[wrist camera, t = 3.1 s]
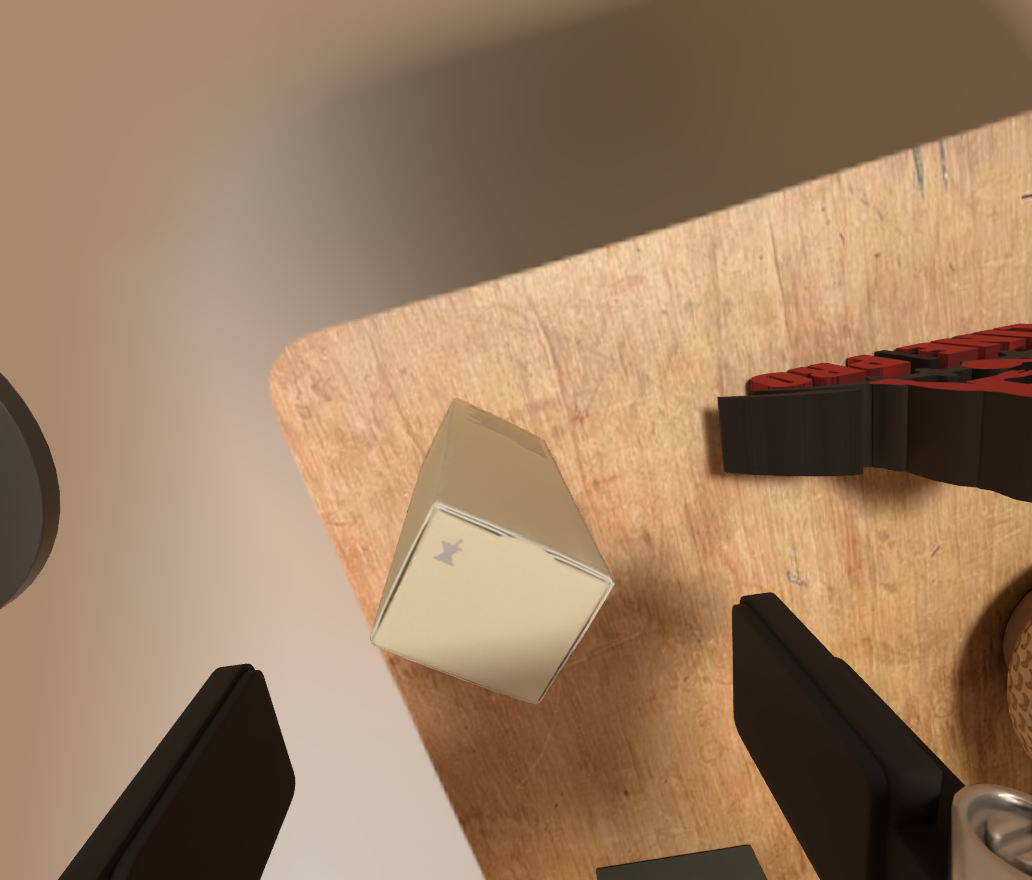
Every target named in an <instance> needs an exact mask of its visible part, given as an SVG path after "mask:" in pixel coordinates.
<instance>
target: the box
mask: <svg viewBox="0 0 1032 880" xmlns="http://www.w3.org/2000/svg"><path fill="white" fill-rule="evenodd" d="M614 583H615V581H614V579H613V577H612V575H611V573H610V571H609V570H608V568H607V566H606V564H605V562H604V560H603V558H602V556H601V554H600V552H599V550H598V548H597V546H596V544H595V542H594V540H593V538H592V536H591V534H590V532H589V530H588V528H587V526H586V524H585V522H584V520H583V518H582V516H581V514H580V512H579V510H578V508H577V506H576V504H575V502H574V499H573V498H572V496H571V494H570V492H569V489H568V487H567V485H566V483H565V481H564V479H563V477H562V475H561V473H560V471H559V469H558V467H557V465H556V463H555V461H554V459H553V457H552V455H551V453H550V451H549V449H548V447H547V445H546V443H545V442H544V440H542V439H540V438H539V437H537V436H535V435H533V434H531V433H529V432H527V431H525V430H524V429H522V428H519V427H517V426H515V425H513V424H511V423H509V422H507V421H505V420H503V419H501V418H499V417H497V416H495V415H493V414H491V413H489V412H487V411H484V410H482V409H480V408H478V407H476V406H474V405H471V404H469V403H467V402H465V401H462V400H460V399H457V398H455V399H453V401H452V403H451V405H450V407H449V409H448V411H447V413H446V415H445V417H444V419H443V421H442V423H441V425H440V427H439V429H438V431H437V433H436V435H435V437H434V439H433V442H432V444H431V446H430V448H429V450H428V453H427V455H426V457H425V459H424V462H423V464H422V466H421V469H420V471H419V474H418V478H417V482H416V485H415V488H414V492H413V495H412V498H411V502H410V505H409V508H408V511H407V515H406V518H405V521H404V524H403V528H402V531H401V534H400V537H399V541H398V544H397V547H396V551H395V554H394V558H393V561H392V564H391V567H390V571H389V574H388V577H387V581H386V584H385V588H384V591H383V594H382V598H381V601H380V605H379V608H378V612H377V616H376V619H375V622H374V626H373V629H372V632H371V636H370V640H371V643H372V644H374V645H375V646H376V647H378V648H381V649H383V650H386V651H389V652H391V653H394V654H396V655H399V656H401V657H404V658H406V659H408V660H411V661H413V662H416V663H419V664H422V665H424V666H427V667H429V668H432V669H435V670H437V671H440V672H443V673H445V674H448V675H451V676H453V677H456V678H459V679H461V680H464V681H467V682H469V683H472V684H475V685H478V686H481V687H484V688H487V689H489V690H492V691H495V692H498V693H501V694H504V695H507V696H510V697H513V698H516V699H519V700H523V701H525V702H528V703H531V704H538V703H540V702H541V701H542V700H543V698H544V696H545V695H546V693H547V691H548V690H549V688H550V687H551V685H552V683H553V682H554V680H555V679H556V677H557V676H558V674H559V673H560V671H561V670H562V668H563V667H564V665H565V664H566V663H567V661H568V660H569V658H570V656H571V654H572V653H573V651H574V650H575V648H576V647H577V645H578V644H579V642H580V641H581V639H582V638H583V636H584V635H585V633H586V631H587V630H588V628H589V626H590V625H591V623H592V622H593V620H594V618H595V617H596V615H597V613H598V612H599V610H600V608H601V607H602V605H603V603H604V602H605V600H606V598H607V597H608V595H609V593H610V592H611V590H612V588H613V587H614Z"/></svg>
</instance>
